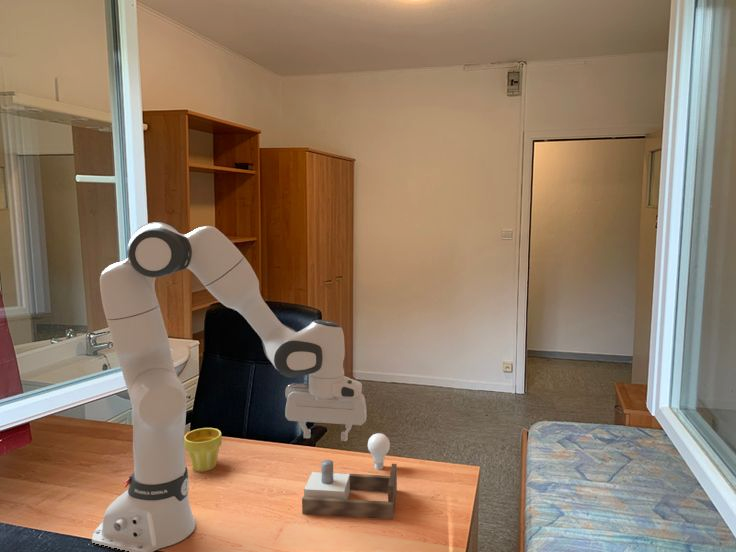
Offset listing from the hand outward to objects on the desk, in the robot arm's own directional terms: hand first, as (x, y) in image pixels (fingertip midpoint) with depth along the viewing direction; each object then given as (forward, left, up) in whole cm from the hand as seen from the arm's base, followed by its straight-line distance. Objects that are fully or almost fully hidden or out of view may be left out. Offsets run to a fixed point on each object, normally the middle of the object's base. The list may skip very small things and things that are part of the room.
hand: (325, 438), depth 137 cm
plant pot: (-40, +16, -18) cm, 46 cm away
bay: (+6, 0, -17) cm, 18 cm away
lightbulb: (+11, +19, -18) cm, 28 cm away
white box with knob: (0, 0, -16) cm, 16 cm away
